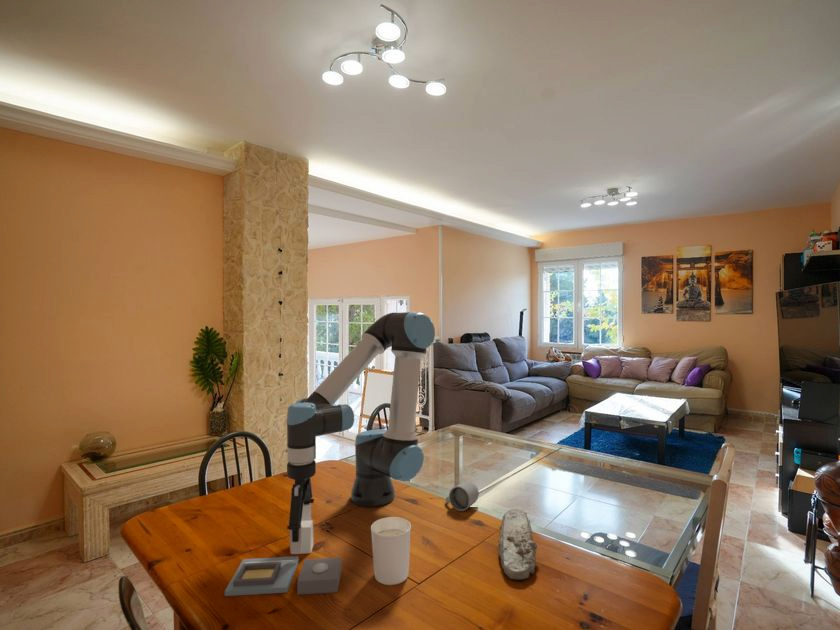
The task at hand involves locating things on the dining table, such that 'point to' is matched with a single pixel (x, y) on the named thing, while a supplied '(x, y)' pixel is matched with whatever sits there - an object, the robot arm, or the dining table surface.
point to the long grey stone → (517, 545)
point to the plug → (306, 537)
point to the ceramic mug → (463, 496)
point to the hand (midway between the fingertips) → (301, 539)
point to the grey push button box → (319, 576)
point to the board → (263, 576)
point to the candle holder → (391, 549)
